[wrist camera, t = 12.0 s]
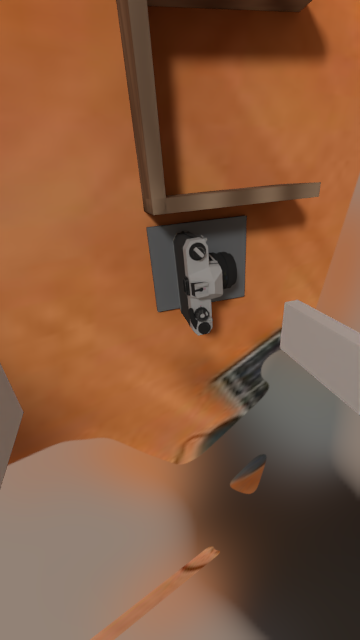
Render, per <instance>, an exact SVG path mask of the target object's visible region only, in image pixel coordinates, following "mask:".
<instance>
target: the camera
mask: <svg viewBox="0 0 360 640" xmlns="http://www.w3.org/2000/svg"><path fill="white" fill-rule="evenodd" d="M201 237H202V238H204V237H203V236H202V235H201ZM202 238H200V237H199V236H196V235H194V234H192V233H190V232H189V231H186V232H184V231H181V232H179V233H176V235H175V237H174V239H173V248H174V256H175V265H176V274H177V283H178V292H179V300H180V309H181V313H182V314H183V316H184V317H185V319H186V320H187V322H188V323H189V326H190V327H191V328H192V330H193V331H194V332H195V333H196V334H197V335H202V334H207V333H209V332H210V331H211V329H212V321H213V319H212V310H211V299H214V298H217V297H220V296H222V295H223V289H227V288H231V286H232V285H234V284H235V283H236V280H237V267H236V262H235V260H234V257H233V256H232V255H231V254H230V253H227V252H218V253H217V254H216V253H214V252H212V253H208V246H207V244H206V241H207V238H204V239H202Z"/></svg>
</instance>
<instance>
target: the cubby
mask: <svg viewBox="0 0 360 640" xmlns="http://www.w3.org/2000/svg"><path fill="white" fill-rule="evenodd" d="M311 1H312V0H116V2H117V10H118V17H119V25H120V32H121V40H122V47H123V55H124V62H125V70H126V77H127V85H128V92H129V100H130V108H131V115H132V123H133V130H134V138H135V145H136V153H137V160H138V168H139V175H140V183H141V190H142V198H143V205H144V211H145V212H148V213H150V214H152V215H160V214H169V213H177V212H186V211H195V210H204V209H213V208H222V207H231V206H239V205H248V204H257V203H266V202H275V201H284V200H293V199H302V198H310V197H319V191H320V184H321V182H319V183H296V184H279V185H269V186H259V187H249V188H239V189H229V190H219V191H209V192H199V193H189V194H179V195H169V196H166V194H165V184H164V174H163V163H162V153H161V143H160V132H159V122H158V112H157V101H156V91H155V81H154V70H153V60H152V50H151V39H150V29H149V19H148V8H147V6H162V7H187V8H212V9H238V10H263V11H288V12H300V11H301V10H302V9H303V8H304V7H305V6H306V5H308V4H309V3H310V2H311Z"/></svg>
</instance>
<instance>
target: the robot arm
mask: <svg viewBox="0 0 360 640" xmlns="http://www.w3.org/2000/svg"><path fill="white" fill-rule="evenodd" d="M280 349H282V350H283V351H284V352H285V353H286V354H287V355H289V356H290V357H291V358H292V359H293V360H295V361H296V362H297V363H298V364H299V365H301V366H302V367H303V368H304V369H306V371H308V372H309V373H310V374H311V375H313V376H314V377H315V378H316V379H317V380H318V381H320V382H321V383H322V384H323V385H324V386H326V387H327V388H328V389H329V390H330V391H332V392H333V393H334V394H335V395H336V396H337V397H339V398H340V399H341V400H342V401H343V402H345V403H346V404H347V405H348V406H349V407H350V408H352V409H353V410H354V411H355V412H356V413H358V414H359V415H360V333H359V332H357V331H355V330H353V329H351V328H349V327H348V326H346V325H344V324H342V323H340V322H338V321H336V320H334V319H333V318H331V317H329V316H327V315H325V314H323V313H321V312H320V311H318V310H316V309H314V308H312V307H310V306H308V305H306V304H305V303H303V302H301V301H299V300H295V301H290V302H285V306H284V315H283V324H282V333H281V342H280ZM23 413H24V412H23V410H22V408H21V406H20V404H19V402H18V400H17V398H16V395H15V393H14V391H13V389H12V387H11V385H10V383H9V381H8V379H7V376H6V374H5V372H4V370H3V368H2V366H1V364H0V488H1V484H2V481H3V478H4V475H5V471H6V468H7V465H8V462H9V458H10V455H11V452H12V449H13V445H14V442H15V439H16V435H17V432H18V429H19V426H20V422H21V419H22V416H23Z"/></svg>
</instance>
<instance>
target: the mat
mask: <svg viewBox="0 0 360 640" xmlns="http://www.w3.org/2000/svg"><path fill="white" fill-rule="evenodd" d="M246 220H247V216H237V217H228V218H220V219H212V220H203V221H195V222H187V223H179V224H170V225H162V226H154V227H146V228H147V236H148V243H149V251H150V258H151V266H152V273H153V281H154V288H155V296H156V303H157V311H158V312H161V311H166V310H172V309H177V308H180V300H179V292H178V283H177V274H176V265H175V256H174V248H173V239H174V237H175V235H176V233H179V232H181V231H184V232H186V231H189V232H190V233H192V234H194V235H196V236H199V237H200V238H202V237H201V235H202V236H203V237H204V238H207V241H206V244H207V246H208V253H212V252H214V253H216V254H217V253H218V252H227V253H230V254H231V255H232V256H233V257H234V260H235V262H236V267H237V280H236V283H235V284H234V285H232V286H231V288H227V289H223V295H222V296H220V297H217V298H214V299H211V302H215V301H221V300H226V299H231V298H237V297H242V296H244V290H245V255H246ZM204 238H202V239H204Z"/></svg>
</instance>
